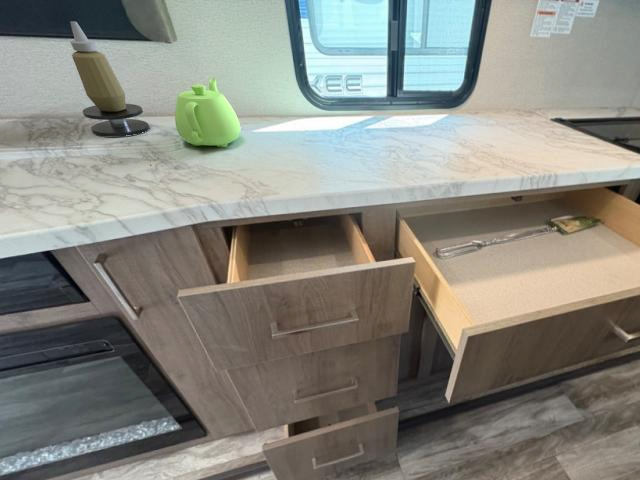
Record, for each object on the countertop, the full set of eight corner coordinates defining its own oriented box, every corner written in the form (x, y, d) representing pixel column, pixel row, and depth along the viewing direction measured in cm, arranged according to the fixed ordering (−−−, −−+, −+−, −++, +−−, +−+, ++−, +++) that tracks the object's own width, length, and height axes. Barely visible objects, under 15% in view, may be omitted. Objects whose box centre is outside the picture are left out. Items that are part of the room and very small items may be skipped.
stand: (80, 133, 88) (68, 112, 84) (118, 120, 97) (109, 101, 94) (126, 140, 87) (116, 118, 83) (160, 126, 96) (152, 106, 93)
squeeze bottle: (136, 111, 89) (100, 24, 77) (100, 115, 84) (55, 23, 72) (124, 104, 93) (88, 20, 80) (90, 107, 88) (46, 19, 76)
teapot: (200, 126, 99) (184, 73, 90) (253, 129, 100) (242, 77, 92) (169, 152, 83) (145, 91, 74) (232, 155, 84) (216, 96, 76)
